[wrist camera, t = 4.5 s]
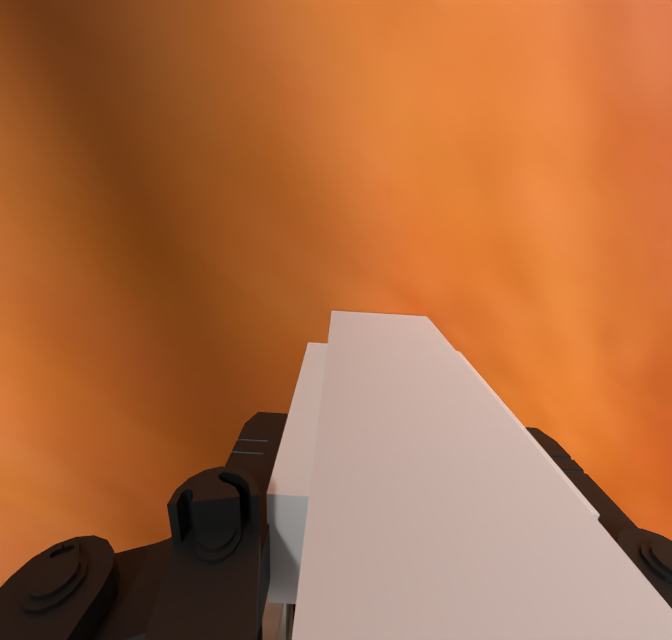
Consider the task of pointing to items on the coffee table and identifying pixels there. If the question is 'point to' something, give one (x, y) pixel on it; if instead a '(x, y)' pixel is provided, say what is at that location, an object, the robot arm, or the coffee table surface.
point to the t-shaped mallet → (447, 510)
